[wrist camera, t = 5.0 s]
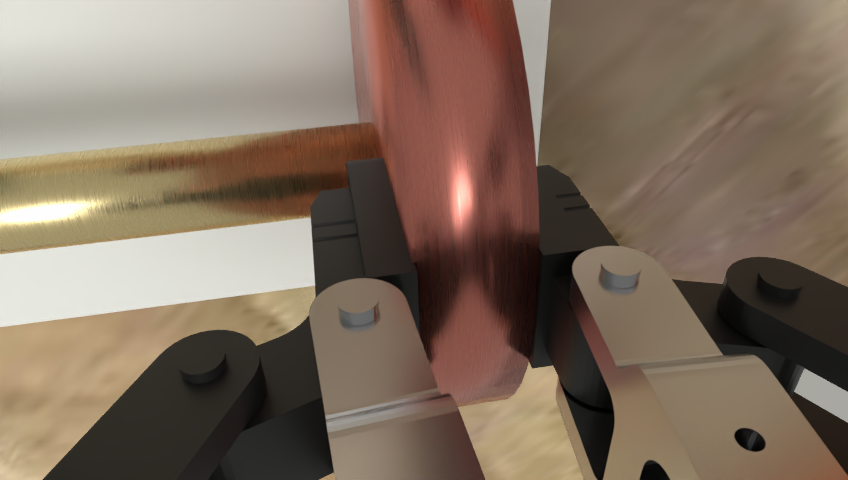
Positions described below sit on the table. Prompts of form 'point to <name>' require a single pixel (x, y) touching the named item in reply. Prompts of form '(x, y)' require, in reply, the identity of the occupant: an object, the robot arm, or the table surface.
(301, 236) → the base board
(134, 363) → the table surface
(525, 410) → the table surface
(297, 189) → the copper disc with handle
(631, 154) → the table surface
